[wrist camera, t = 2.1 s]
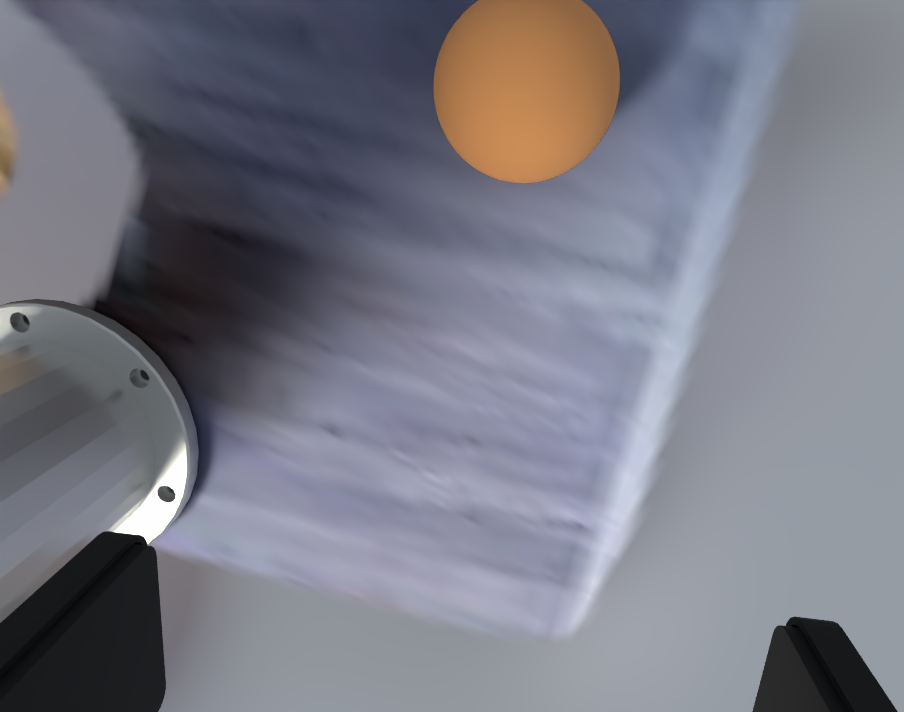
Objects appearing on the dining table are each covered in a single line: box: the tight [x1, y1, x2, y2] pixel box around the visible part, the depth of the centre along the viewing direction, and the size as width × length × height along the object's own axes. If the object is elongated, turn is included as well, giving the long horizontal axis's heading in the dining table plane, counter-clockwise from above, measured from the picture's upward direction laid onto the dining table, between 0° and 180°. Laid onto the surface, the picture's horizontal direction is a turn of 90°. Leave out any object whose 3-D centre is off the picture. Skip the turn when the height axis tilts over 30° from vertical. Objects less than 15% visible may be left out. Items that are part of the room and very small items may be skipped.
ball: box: [433, 0, 620, 183], centre depth 22 cm, size 6×6×6 cm
